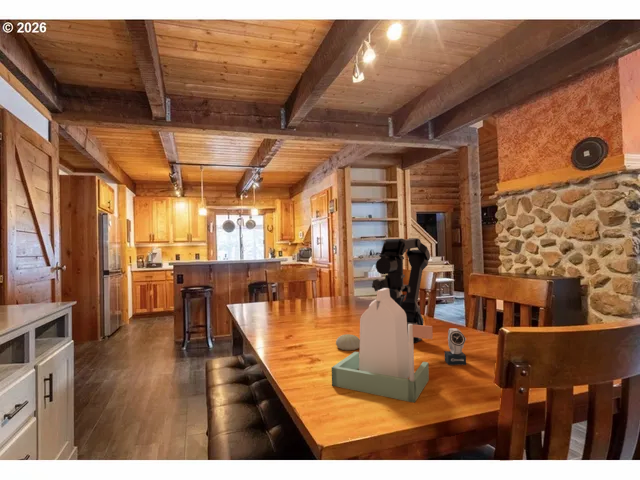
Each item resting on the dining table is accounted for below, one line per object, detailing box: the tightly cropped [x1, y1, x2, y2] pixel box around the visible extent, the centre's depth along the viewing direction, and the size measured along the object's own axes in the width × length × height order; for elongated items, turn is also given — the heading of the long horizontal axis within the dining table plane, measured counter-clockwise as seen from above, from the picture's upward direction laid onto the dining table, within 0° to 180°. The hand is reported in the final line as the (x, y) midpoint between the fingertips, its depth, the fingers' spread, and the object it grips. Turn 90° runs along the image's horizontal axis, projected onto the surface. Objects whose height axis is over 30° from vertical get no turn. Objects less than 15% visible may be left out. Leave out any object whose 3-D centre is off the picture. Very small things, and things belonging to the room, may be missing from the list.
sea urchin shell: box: [335, 333, 360, 351], centre depth 131 cm, size 9×8×8 cm
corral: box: [331, 324, 434, 403], centre depth 97 cm, size 16×28×19 cm, turn 60°
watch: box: [444, 328, 467, 366], centre depth 113 cm, size 6×8×11 cm
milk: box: [358, 288, 409, 379], centre depth 101 cm, size 12×12×26 cm
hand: (396, 314), depth 128 cm, fingers closed
